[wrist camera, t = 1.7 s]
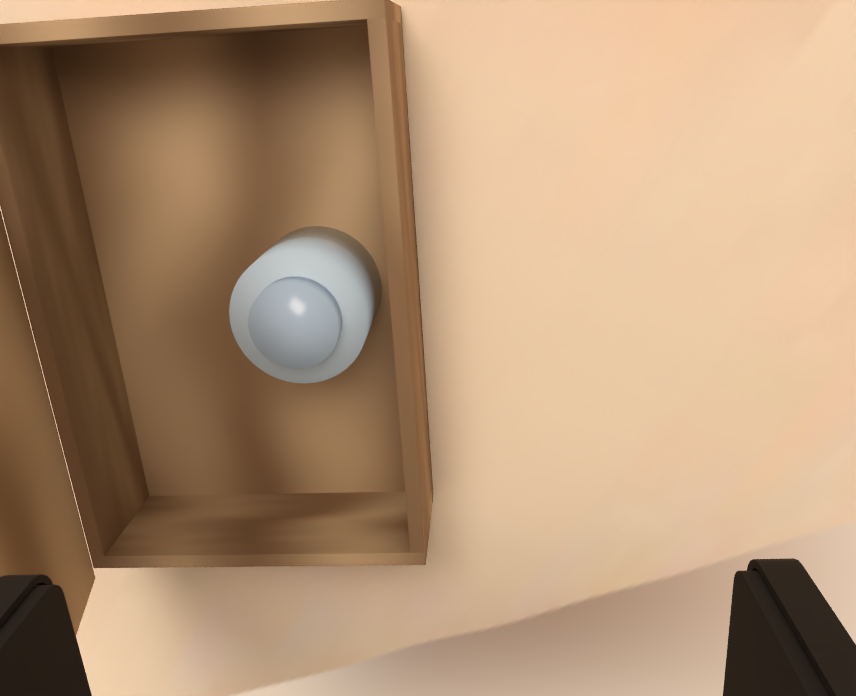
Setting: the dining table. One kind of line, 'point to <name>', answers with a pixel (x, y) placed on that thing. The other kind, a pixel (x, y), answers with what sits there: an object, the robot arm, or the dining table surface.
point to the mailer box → (217, 277)
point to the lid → (34, 462)
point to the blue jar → (306, 305)
